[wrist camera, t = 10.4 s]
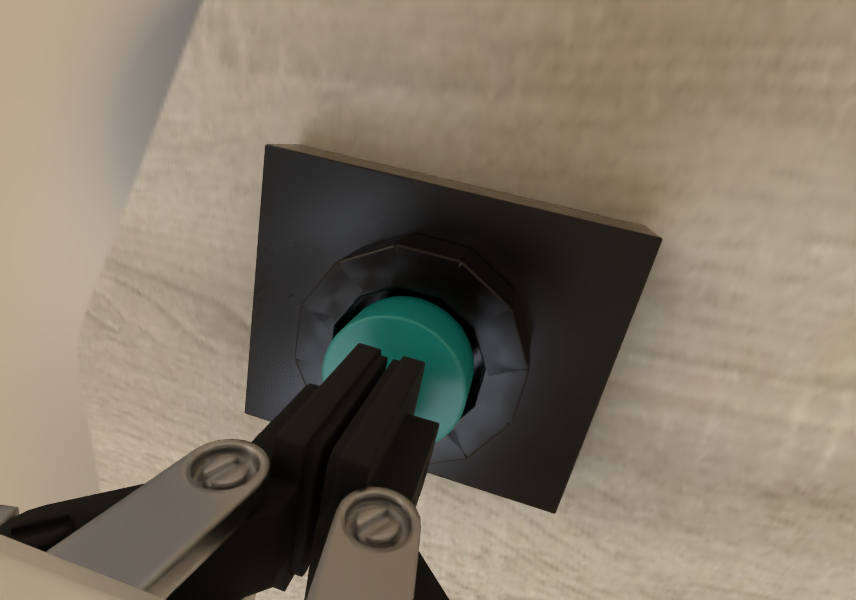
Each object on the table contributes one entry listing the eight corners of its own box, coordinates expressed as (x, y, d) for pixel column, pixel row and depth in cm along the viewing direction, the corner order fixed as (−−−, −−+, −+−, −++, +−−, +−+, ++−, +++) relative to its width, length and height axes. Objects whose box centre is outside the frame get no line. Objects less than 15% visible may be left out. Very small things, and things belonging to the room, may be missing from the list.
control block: (273, 386, 20) (213, 441, 16) (298, 144, 16) (228, 143, 13) (553, 473, 18) (557, 557, 15) (645, 225, 15) (683, 252, 11)
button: (337, 396, 15) (313, 426, 13) (355, 279, 14) (331, 298, 12) (457, 433, 14) (448, 469, 13) (489, 316, 13) (482, 340, 11)
